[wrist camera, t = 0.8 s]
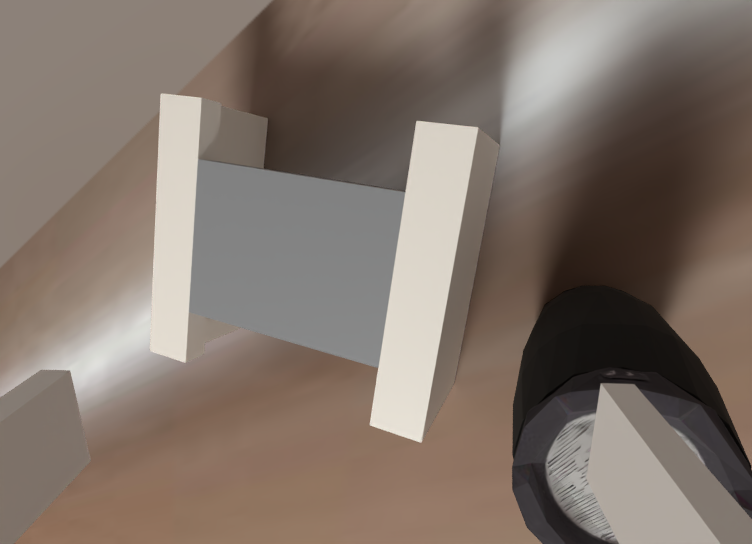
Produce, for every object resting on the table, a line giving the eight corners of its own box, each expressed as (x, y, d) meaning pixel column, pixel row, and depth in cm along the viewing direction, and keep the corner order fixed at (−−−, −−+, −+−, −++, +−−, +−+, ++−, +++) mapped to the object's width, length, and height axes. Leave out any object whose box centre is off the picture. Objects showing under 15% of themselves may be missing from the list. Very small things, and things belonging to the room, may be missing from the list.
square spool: (500, 145, 35) (478, 127, 25) (454, 383, 39) (421, 442, 29) (248, 116, 42) (160, 93, 32) (232, 319, 46) (149, 350, 36)
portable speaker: (531, 393, 36) (502, 585, 18) (528, 273, 35) (494, 354, 17) (659, 403, 33) (774, 647, 15) (661, 271, 32) (788, 369, 14)
